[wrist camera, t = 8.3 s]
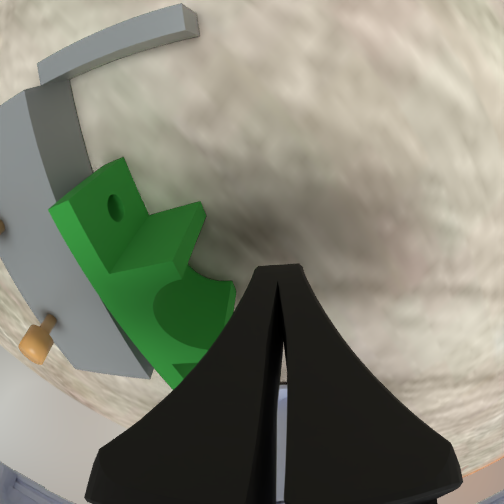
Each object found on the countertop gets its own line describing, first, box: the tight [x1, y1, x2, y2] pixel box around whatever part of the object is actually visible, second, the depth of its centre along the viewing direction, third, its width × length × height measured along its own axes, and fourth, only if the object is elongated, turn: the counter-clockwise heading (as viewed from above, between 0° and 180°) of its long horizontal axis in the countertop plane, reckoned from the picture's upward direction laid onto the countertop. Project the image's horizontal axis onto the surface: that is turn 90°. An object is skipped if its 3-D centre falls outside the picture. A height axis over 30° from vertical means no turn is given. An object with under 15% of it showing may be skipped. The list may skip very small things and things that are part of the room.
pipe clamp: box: [48, 157, 236, 390], centre depth 13 cm, size 11×4×5 cm, turn 16°
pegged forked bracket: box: [0, 3, 200, 379], centre depth 11 cm, size 18×12×6 cm, turn 7°
